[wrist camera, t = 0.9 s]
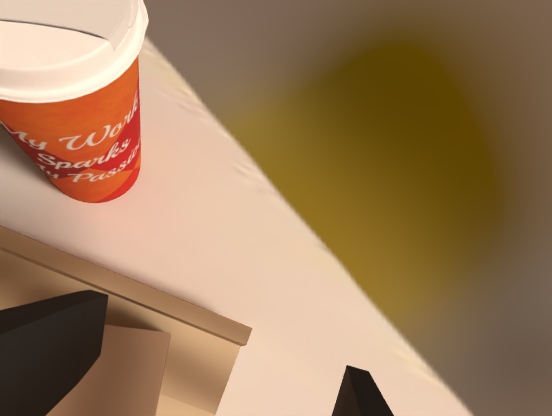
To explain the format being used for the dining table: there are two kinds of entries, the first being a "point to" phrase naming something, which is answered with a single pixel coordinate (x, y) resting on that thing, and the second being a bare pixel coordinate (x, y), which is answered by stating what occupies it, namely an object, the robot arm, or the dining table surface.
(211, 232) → the dining table surface
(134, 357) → the block
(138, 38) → the coffee cup
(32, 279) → the trap box
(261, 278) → the dining table surface
